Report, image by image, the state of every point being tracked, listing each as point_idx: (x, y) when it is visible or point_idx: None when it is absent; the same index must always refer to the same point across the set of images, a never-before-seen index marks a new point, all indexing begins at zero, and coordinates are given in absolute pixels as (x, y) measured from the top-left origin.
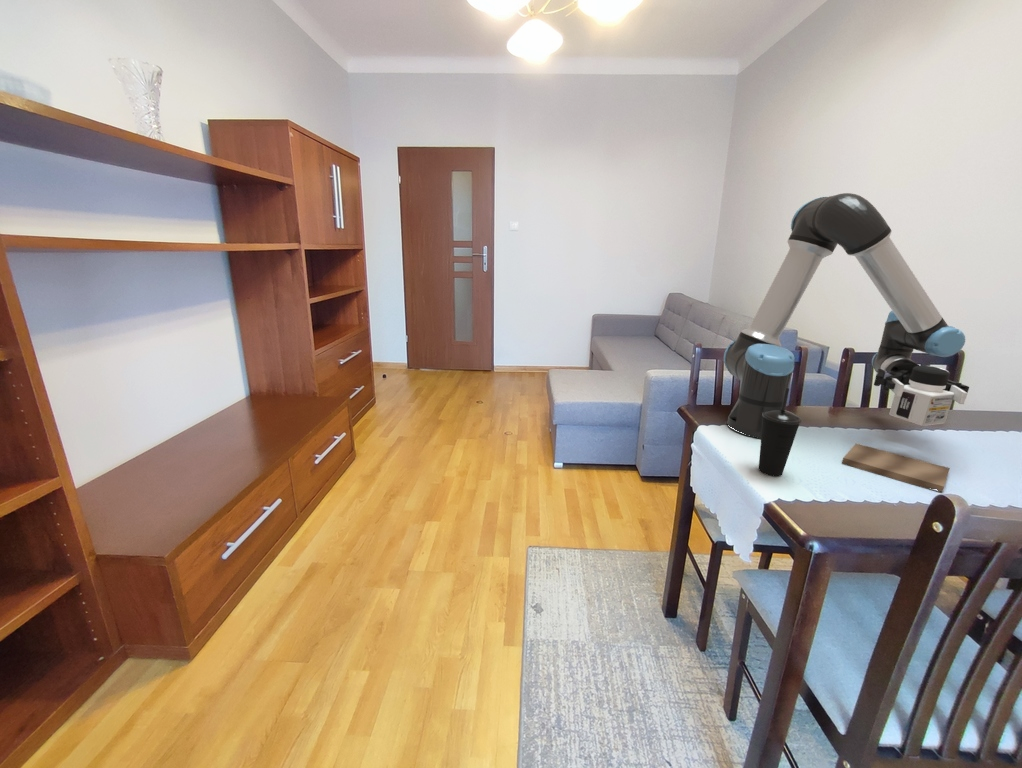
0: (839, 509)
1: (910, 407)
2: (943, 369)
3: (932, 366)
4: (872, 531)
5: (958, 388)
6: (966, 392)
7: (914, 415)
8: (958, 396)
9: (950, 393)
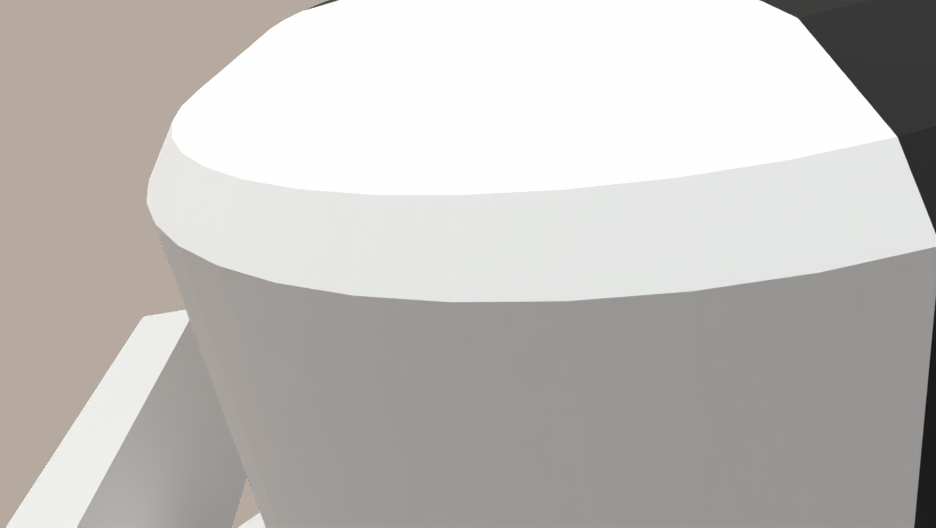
0: None
1: None
2: (324, 9)
3: (540, 29)
4: None
5: (56, 501)
6: (137, 330)
7: None
8: (200, 454)
9: (244, 524)
